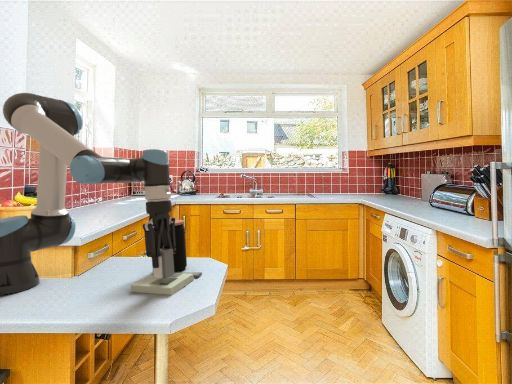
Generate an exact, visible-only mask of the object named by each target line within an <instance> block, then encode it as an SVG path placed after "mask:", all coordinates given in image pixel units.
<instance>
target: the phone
mask: <svg viewBox="0 0 512 384" xmlns="http://www.w3.org/2000/svg"><path fill="white" fill-rule="evenodd" d="M181 273H188V274H194V279H199V278H200V277H201V276H202V274H203V272H200V271H198V272H194V271H193V272H192V271H191V272H190V271H189V272H187V271H186V272H185V271H184V272H182V271H181Z"/></svg>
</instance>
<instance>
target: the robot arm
mask: <svg viewBox="0 0 512 384" xmlns="http://www.w3.org/2000/svg"><path fill="white" fill-rule="evenodd" d="M2 106H3V107H2V115H3V117H4V119H5V121H6V122H7V124H8V125H9V126H11V127H12V128H13V129H14V130H15V131H17V132H18V133H21V134H24V135H28V136H29V137H30V138H32V139H33V140H34V141H36V142H37V143H38V144H39V149H38V150H39V151H38V153H39V154H38V169H37V171H38V173H37V186H36V187H37V188H36V189H37V191H36V206H35V208H33V209H32V210H31V212H30V218H29V217H28V216H27V215H24V214H23V215H15V216H7V217H2V218H0V295H2V296H4V295H3V294H8V295H11V294H10V293H12V294H16V293H15V292H17V293H20V292H23V291H25V290H29V289H32V288H34V287H36V286H37V285H39V284H40V275H39V274H38V271H37V270H36V267H35V266H34V264H33V262H32V253H31V252H36V251H40V250H44V249H49V248H57V247H60V246H61V245H64V244H68V243H69V242H70V241H71V240H72V239H73V238H74V236H75V232H76V222H75V219H74V217H73V216H72V215H71V214H70V212H69V211H70V210H68V209H67V208H66V207H65V205H66V194H67V193H66V191H67V174H68V167H69V174H70V176H72V180H74V182H76V183H77V184H83V185H84V184H85V185H98V184H99V185H100V184H130V183H140V182H141V183H143V184H144V199H145V201H146V202H145V211H146V214H147V215H149V218H148V222H147V223H143V224H142V229H143V231H144V243H145V244H144V245H145V255H146V257H148V258H151V263H152V265H151V266H152V274H153V273H154V278H163V272H162V256H159V255H160V242H161V237H162V242H163V247H164V249H173V248H175V247H176V241H175V220H176V218H175V217H170V213H172V210H173V208H172V207H173V206H172V201H171V199H172V196H171V182H170V181H171V180H170V161H169V154H168V152H167V150H165V149H160V148H159V149H157V148H153V149H152V148H150V149H145V150H142V156H141V157H135V158H133V157H132V158H122V157H109V156H108V157H107V156H101V155H100V154H98V153H97V152H95V151H94V150H93V149H91V148H90V147H88V145H86V144H84V143H83V142H81V141H80V140H79V139H78V138H77V137H75V136H76V135H78V134H79V133H80V131H81V130H82V128H83V116H82V114H81V113H82V112H80V110H79V109H78V107H77V106H76V105H75V104H73V103H71V102H68V101H64V100H61V99H58V98H57V99H56V98H52V97H48V96H43V95H39V94H34V93H31V92H19V93H15V94H13V95H11V96H8V98H7V99H6V100H5V102H4V103H3V105H2ZM173 251H175V249H173Z"/></svg>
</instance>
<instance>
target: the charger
mask: <svg viewBox="0 0 512 384" xmlns="http://www.w3.org/2000/svg"><path fill="white" fill-rule="evenodd" d="M159 256H162V272H163V278H162V279H166V278H168V277H170V276H172V275H173V274H174V260H173V249H160V255H159ZM152 274H153V278H154V273H153V272H152Z"/></svg>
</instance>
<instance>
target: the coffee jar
mask: <svg viewBox="0 0 512 384" xmlns="http://www.w3.org/2000/svg"><path fill="white" fill-rule="evenodd" d="M175 241H176V247H175V248H173V249H175V251H173V260H174V273H181V272H182V270H183V271H184V270H186V268H187V267H188V261H187V259H188V257H187V246H186V245H187V243H186V228H185V220H184V219H175ZM160 249H164V247H163V242H162V237H161V242H160Z"/></svg>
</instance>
